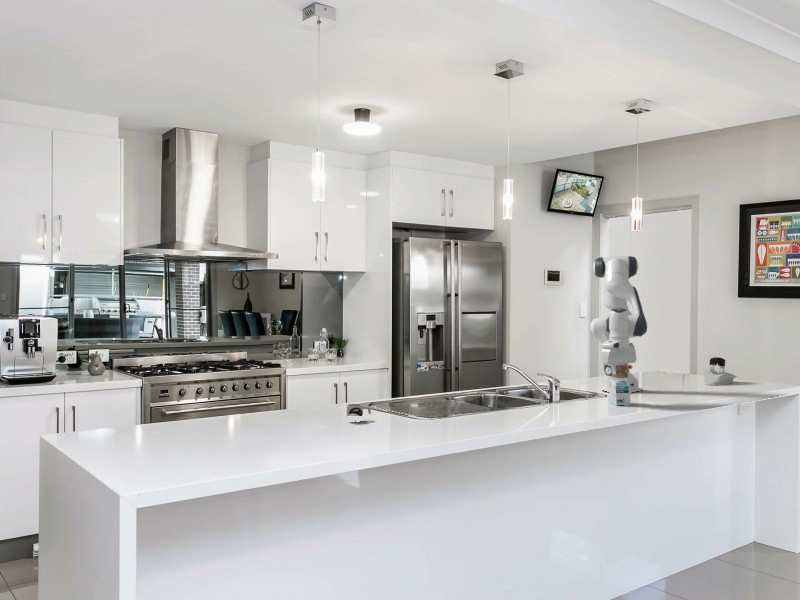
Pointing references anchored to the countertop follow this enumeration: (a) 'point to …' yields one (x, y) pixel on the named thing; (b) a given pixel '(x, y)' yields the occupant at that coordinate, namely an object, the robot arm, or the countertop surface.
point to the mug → (356, 409)
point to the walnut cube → (621, 372)
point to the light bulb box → (620, 392)
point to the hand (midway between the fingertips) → (619, 373)
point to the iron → (718, 373)
